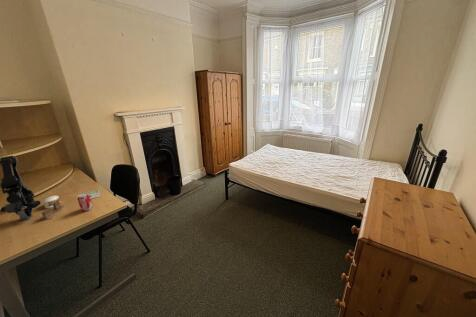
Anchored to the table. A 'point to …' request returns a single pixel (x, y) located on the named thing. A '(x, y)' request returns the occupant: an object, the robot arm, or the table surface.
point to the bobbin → (50, 201)
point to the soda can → (84, 202)
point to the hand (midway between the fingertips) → (26, 216)
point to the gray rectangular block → (23, 214)
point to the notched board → (52, 211)
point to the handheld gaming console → (93, 194)
